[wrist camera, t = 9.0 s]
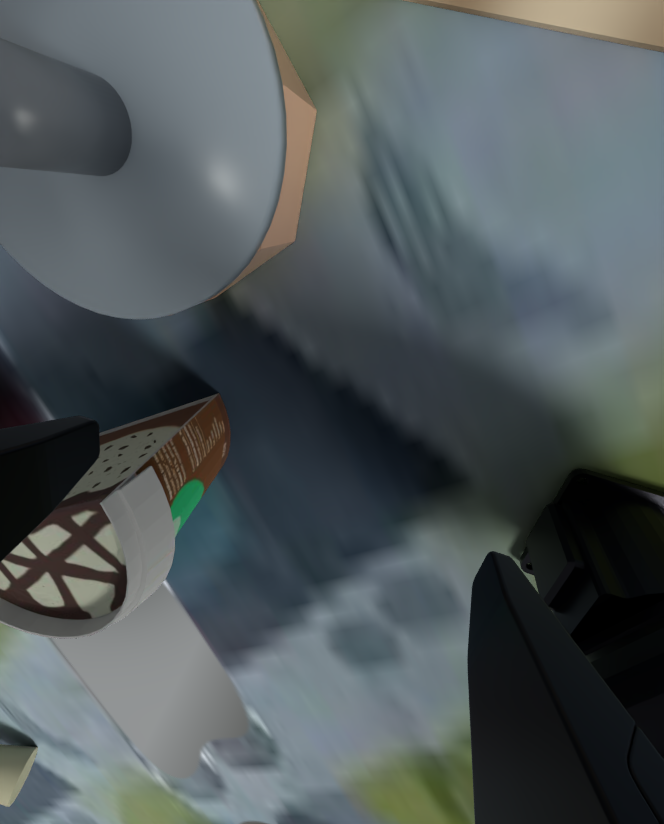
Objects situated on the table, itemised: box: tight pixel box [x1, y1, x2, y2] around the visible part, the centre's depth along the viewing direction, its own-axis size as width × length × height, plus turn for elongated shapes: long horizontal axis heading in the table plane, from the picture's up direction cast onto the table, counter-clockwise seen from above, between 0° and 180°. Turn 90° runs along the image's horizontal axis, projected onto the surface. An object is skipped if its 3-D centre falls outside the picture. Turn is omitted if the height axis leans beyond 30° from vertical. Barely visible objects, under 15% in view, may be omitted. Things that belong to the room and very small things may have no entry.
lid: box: [0, 0, 287, 319], centre depth 13 cm, size 12×12×5 cm
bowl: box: [168, 0, 317, 316], centre depth 17 cm, size 12×12×4 cm
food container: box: [0, 393, 231, 639], centre depth 21 cm, size 12×6×10 cm, turn 113°
